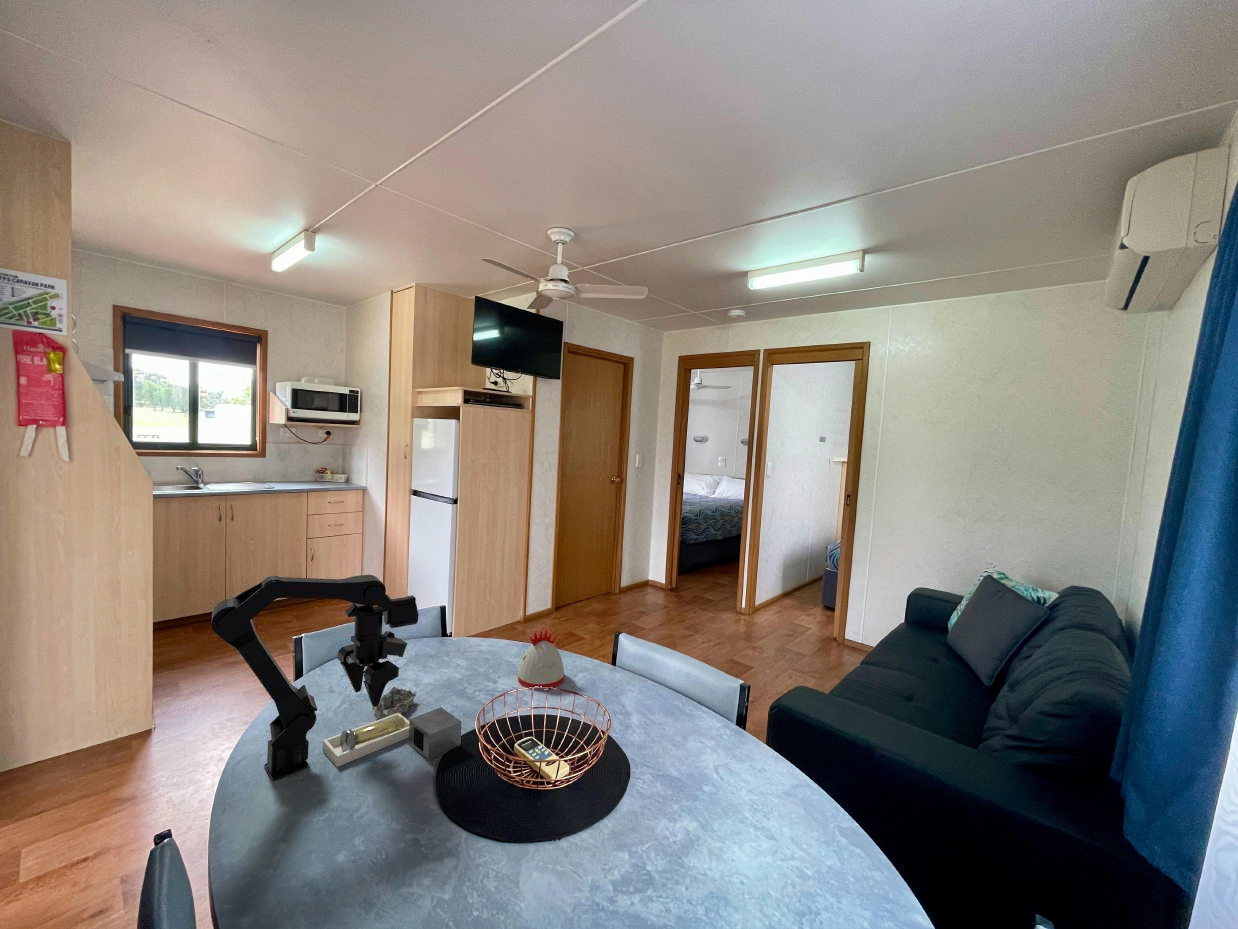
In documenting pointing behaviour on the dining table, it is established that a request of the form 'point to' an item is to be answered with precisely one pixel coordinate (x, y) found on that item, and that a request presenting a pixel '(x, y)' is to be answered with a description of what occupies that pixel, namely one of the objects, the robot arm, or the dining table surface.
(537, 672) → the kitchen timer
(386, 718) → the tray
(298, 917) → the dining table surface
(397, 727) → the pin
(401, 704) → the egg carton
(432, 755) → the block
